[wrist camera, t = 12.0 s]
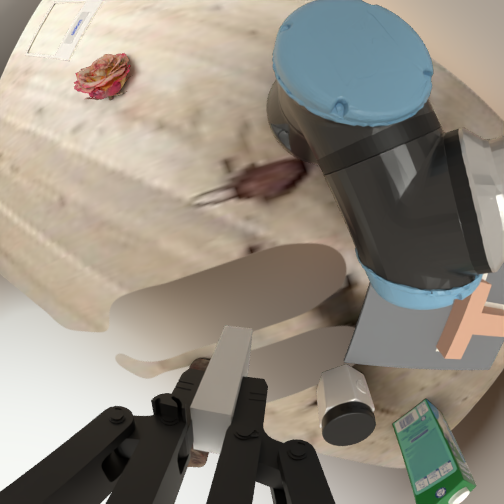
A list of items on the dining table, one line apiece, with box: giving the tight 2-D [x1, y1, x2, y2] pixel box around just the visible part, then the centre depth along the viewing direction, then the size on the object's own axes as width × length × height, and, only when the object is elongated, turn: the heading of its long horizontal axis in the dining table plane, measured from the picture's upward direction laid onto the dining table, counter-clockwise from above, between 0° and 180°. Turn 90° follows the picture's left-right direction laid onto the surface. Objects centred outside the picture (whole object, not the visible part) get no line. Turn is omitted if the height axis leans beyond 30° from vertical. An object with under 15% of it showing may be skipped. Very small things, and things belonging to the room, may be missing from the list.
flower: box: [74, 53, 133, 100], centre depth 35 cm, size 10×9×8 cm
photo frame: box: [25, 0, 105, 61], centre depth 36 cm, size 15×1×18 cm
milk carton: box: [392, 399, 476, 504], centre depth 35 cm, size 9×9×25 cm
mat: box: [344, 263, 504, 370], centre depth 41 cm, size 24×36×1 cm, turn 81°
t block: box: [436, 279, 504, 359], centre depth 38 cm, size 14×14×4 cm
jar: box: [316, 364, 376, 446], centre depth 41 cm, size 9×8×12 cm
